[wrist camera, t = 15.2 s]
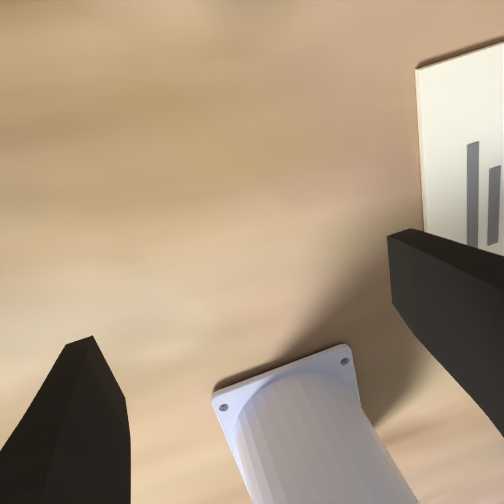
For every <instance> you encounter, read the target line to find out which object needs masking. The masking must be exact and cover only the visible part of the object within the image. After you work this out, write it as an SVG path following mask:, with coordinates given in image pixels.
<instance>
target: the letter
mask: <svg viewBox="0 0 504 504" xmlns="http://www.w3.org/2000/svg"><path fill="white" fill-rule="evenodd" d="M415 77H416V95H417V113H418V130H419V148H420V165H421V183H422V201H423V218H424V232H426V233H430V234H433V235H436V236H440V237H443V238H446V239H449V240H453V241H456V242H459V243H462V244H465V245H468V246H472V247H475V248H478V249H482V250H485V251H488V252H492V253H495V254H498V255H502V256H504V41H503V42H500V43H497V44H494V45H491V46H487V47H484V48H481V49H478V50H475V51H472V52H468V53H465V54H462V55H459V56H456V57H453V58H450V59H446V60H443V61H440V62H437V63H434V64H431V65H428V66H424V67H421V68H418V69H415Z"/></svg>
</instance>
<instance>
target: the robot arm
mask: <svg viewBox="0 0 504 504" xmlns="http://www.w3.org/2000/svg"><path fill="white" fill-rule="evenodd" d="M387 243H388V255H389V267H390V279H391V291H392V303H393V304H394V306H395V307H396V309H397V310H398V312H399V313H400V315H401V316H402V318H403V319H404V321H405V322H406V324H407V325H408V327H409V328H410V329H411V331H412V332H413V334H414V335H415V336H416V337H417V338H418V339H419V341H420V342H421V343H422V344H423V345H424V346H425V347H426V348H427V350H428V351H429V352H430V353H431V354H432V355H433V356H434V357H435V358H436V359H437V361H438V362H439V363H440V364H441V365H442V366H443V367H444V368H445V369H446V370H447V371H448V373H449V374H450V375H451V376H452V377H453V378H454V379H455V380H456V381H457V382H458V383H459V384H460V386H461V387H462V388H463V389H464V390H465V391H466V392H467V393H468V394H469V395H470V396H471V398H472V399H473V400H474V401H475V402H476V403H477V404H478V405H479V407H480V408H481V409H482V410H483V411H484V413H485V414H486V415H487V416H488V417H489V418H490V420H491V421H492V422H493V424H494V425H495V426H496V428H497V429H498V430H499V432H500V433H501V434H502V436H503V437H504V256H502V255H498V254H495V253H492V252H488V251H485V250H482V249H478V248H475V247H472V246H468V245H465V244H462V243H459V242H456V241H453V240H449V239H446V238H443V237H440V236H436V235H433V234H430V233H426V232H423V231H419V230H415V229H411V228H410V229H407V230H404V231H401V232H398V233H395V234H392V235H389V236H387ZM344 358H345V359H344ZM342 359H344V360H343V361H341V360H342ZM211 402H212V405H213V407H214V410H215V412H216V415H217V417H218V420H219V422H220V424H221V427H222V429H223V432H224V434H225V436H226V439H227V441H228V444H229V446H230V449H231V451H232V453H233V456H234V458H235V461H236V463H237V465H238V468H239V470H240V473H241V475H242V478H243V480H244V482H245V485H246V487H247V490H248V492H249V494H250V496H251V499H252V503H253V504H420V503H419V502H418V500H417V498H416V497H415V495H414V493H413V492H412V490H411V488H410V487H409V485H408V483H407V482H406V480H405V479H404V477H403V475H402V474H401V472H400V470H399V469H398V467H397V465H396V464H395V462H394V460H393V459H392V457H391V455H390V454H389V452H388V451H387V449H386V447H385V446H384V444H383V442H382V441H381V439H380V437H379V436H378V434H377V432H376V431H375V429H374V428H373V426H372V424H371V423H370V421H369V419H368V418H367V416H366V414H365V413H364V411H363V409H362V407H361V402H360V396H359V390H358V385H357V379H356V373H355V367H354V362H353V356H352V351H351V349H350V347H349V346H348V345H347V344H340V345H337V346H334V347H332V348H329V349H326V350H324V351H321V352H318V353H316V354H313V355H310V356H308V357H305V358H302V359H300V360H297V361H295V362H292V363H289V364H287V365H284V366H281V367H279V368H276V369H273V370H271V371H268V372H265V373H263V374H260V375H257V376H255V377H252V378H249V379H247V380H244V381H241V382H239V383H236V384H233V385H231V386H228V387H225V388H223V389H220V390H217V391H216V392H214V393H213V394H212V396H211ZM222 404H226V405H224V406H221V405H222ZM0 504H131V442H130V430H129V422H128V415H127V408H126V401H125V397H124V395H123V393H122V391H121V389H120V387H119V385H118V383H117V381H116V379H115V377H114V375H113V374H112V372H111V370H110V368H109V366H108V364H107V362H106V360H105V358H104V356H103V354H102V352H101V350H100V348H99V347H98V345H97V343H96V341H95V339H94V337H93V336H90V337H87V338H84V339H81V340H78V341H75V342H72V343H69V344H66V345H65V347H64V348H63V350H62V352H61V353H60V355H59V357H58V358H57V360H56V362H55V364H54V365H53V367H52V369H51V371H50V372H49V374H48V376H47V378H46V379H45V381H44V383H43V384H42V386H41V388H40V389H39V391H38V393H37V394H36V396H35V398H34V399H33V401H32V403H31V404H30V406H29V408H28V409H27V411H26V413H25V414H24V416H23V418H22V419H21V421H20V422H19V424H18V425H17V427H16V428H15V430H14V431H13V433H12V434H11V436H10V437H9V439H8V440H7V442H6V443H5V445H4V446H3V448H2V449H1V451H0Z"/></svg>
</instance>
